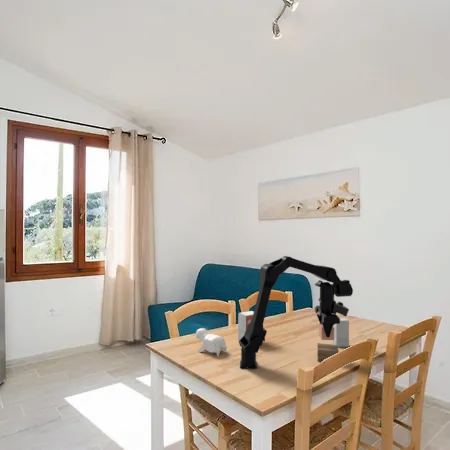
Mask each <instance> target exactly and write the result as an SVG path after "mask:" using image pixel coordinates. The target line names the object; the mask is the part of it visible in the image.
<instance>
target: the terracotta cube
mask: <svg viewBox="0 0 450 450" xmlns="http://www.w3.org/2000/svg"><path fill="white" fill-rule="evenodd" d="M318 337H319V338H320V340H322V341H333V340H334V327H332V330H331V334H330V337H326V334H325V331H324V328H323V325H322V324H320V323H319V324H318Z"/></svg>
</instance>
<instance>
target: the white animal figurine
mask: <svg viewBox="0 0 450 450" xmlns="http://www.w3.org/2000/svg"><path fill="white" fill-rule="evenodd" d="M195 338H196V339H197V340H199V341H200V342H202V345H201V347H200V348H199V349H198V353H202V352H204V351H207V352H208V353H214V354H216V357H219V355H220V353H221V352H224V353H226V352H227V349H228V345H227V343H226V341H225V339H224V337H223V336H220V335H217V334H213V333H209V331H208V330H207V329H206V328H204V327H201V328H198V329H197V330H196V331H195Z"/></svg>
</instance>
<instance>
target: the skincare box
mask: <svg viewBox="0 0 450 450" xmlns="http://www.w3.org/2000/svg"><path fill="white" fill-rule="evenodd" d="M339 318H340V317H339ZM333 327H334V340H332V345H338V348H345V347H346V348H349V347H350V343H349V342H350V320H349V319H347V318H344V317H343V318H342V317H341V318H340V324H334V325H333Z"/></svg>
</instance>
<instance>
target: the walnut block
mask: <svg viewBox="0 0 450 450" xmlns="http://www.w3.org/2000/svg"><path fill="white" fill-rule="evenodd" d="M339 351H340V350H339V347H338V345H334V344H333V343H330V344H329V343H322V342H321V343H320V342H319V343H317V362H318V361H319V363H322V362H321V361H323V360H324V359H326V358H328V357H330V356H332V355H334V354H336V353H338V352H339ZM339 353H340V352H339Z"/></svg>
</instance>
